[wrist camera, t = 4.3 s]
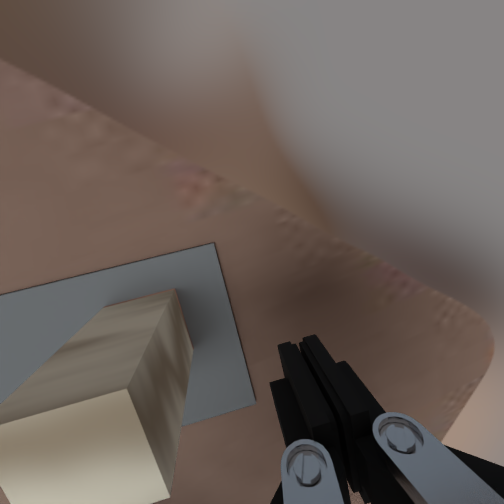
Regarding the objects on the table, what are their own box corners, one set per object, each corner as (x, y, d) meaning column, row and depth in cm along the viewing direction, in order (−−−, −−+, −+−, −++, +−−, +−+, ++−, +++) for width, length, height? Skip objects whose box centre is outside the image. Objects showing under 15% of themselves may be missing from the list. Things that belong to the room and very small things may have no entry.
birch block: (193, 348, 19) (170, 497, 10) (127, 366, 19) (34, 541, 9) (174, 288, 18) (126, 388, 8) (104, 306, 18) (-31, 433, 8)
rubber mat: (255, 400, 21) (256, 403, 21) (-18, 483, 20) (-23, 488, 19) (213, 242, 18) (213, 243, 18) (-117, 323, 16) (-125, 326, 16)
